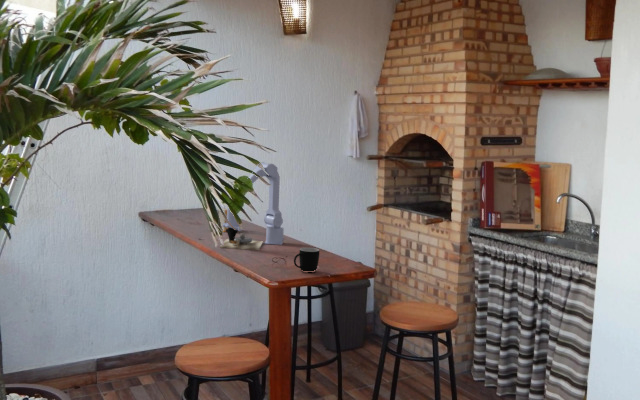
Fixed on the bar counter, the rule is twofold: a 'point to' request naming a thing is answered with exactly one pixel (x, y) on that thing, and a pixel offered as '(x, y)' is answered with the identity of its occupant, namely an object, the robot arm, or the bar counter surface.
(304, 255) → the mug
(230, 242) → the flange
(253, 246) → the base
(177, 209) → the bar counter surface
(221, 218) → the supplement box
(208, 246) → the bar counter surface
